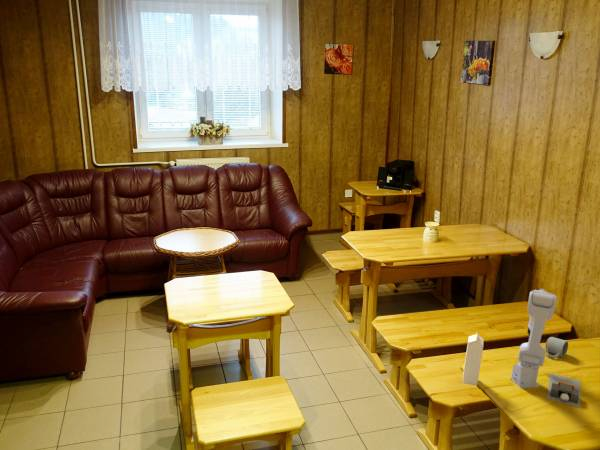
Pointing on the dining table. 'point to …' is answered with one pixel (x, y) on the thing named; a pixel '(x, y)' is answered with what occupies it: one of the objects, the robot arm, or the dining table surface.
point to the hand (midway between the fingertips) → (532, 344)
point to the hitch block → (565, 388)
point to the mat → (555, 380)
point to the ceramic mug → (556, 347)
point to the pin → (565, 395)
